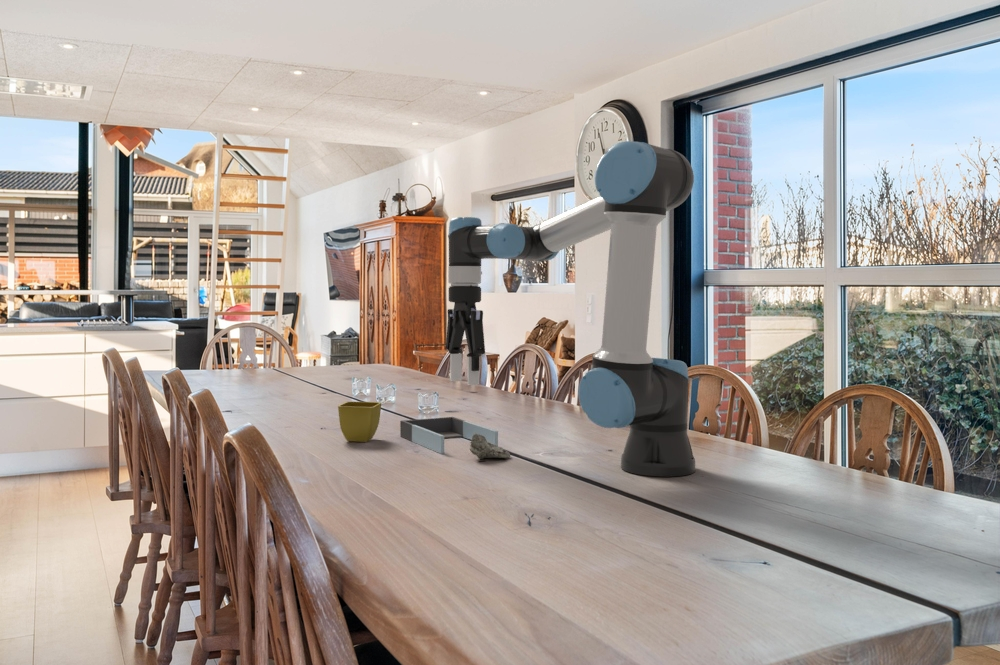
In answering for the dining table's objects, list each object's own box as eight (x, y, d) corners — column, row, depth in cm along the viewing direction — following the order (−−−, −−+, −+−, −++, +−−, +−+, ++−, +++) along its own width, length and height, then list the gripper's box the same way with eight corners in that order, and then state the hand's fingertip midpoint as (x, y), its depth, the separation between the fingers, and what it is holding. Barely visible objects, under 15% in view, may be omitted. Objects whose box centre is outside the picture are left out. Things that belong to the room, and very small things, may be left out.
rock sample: (512, 445, 175) (487, 416, 179) (485, 469, 174) (460, 439, 178) (520, 457, 184) (496, 429, 188) (494, 480, 184) (471, 451, 187)
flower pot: (382, 437, 205) (382, 401, 204) (373, 444, 196) (373, 406, 196) (347, 436, 206) (347, 401, 205) (337, 443, 197) (337, 406, 197)
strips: (497, 448, 192) (498, 431, 192) (440, 453, 185) (441, 436, 185) (465, 436, 207) (465, 420, 207) (411, 441, 200) (411, 425, 200)
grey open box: (465, 436, 207) (465, 420, 207) (411, 441, 200) (411, 425, 200) (453, 432, 214) (453, 416, 213) (400, 436, 207) (400, 420, 206)
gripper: (501, 285, 182) (500, 387, 183) (459, 285, 200) (459, 378, 202) (470, 284, 178) (470, 388, 179) (431, 285, 197) (431, 379, 198)
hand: (464, 383), depth 190 cm, fingers open, 8 cm apart
